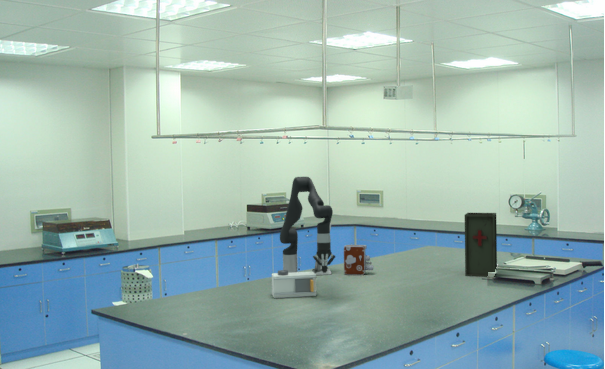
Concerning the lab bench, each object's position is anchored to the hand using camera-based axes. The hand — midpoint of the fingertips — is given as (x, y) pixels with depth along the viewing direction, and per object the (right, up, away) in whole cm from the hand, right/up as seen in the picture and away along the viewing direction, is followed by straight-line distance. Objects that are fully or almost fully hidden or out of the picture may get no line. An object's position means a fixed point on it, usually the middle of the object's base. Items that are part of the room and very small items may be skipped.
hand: (324, 272), depth 311 cm
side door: (-11, -11, 0) cm, 15 cm away
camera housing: (-17, -14, +7) cm, 23 cm away
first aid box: (+106, -11, +59) cm, 122 cm away
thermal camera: (+1, -12, +72) cm, 73 cm away
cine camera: (+26, -12, +67) cm, 73 cm away
